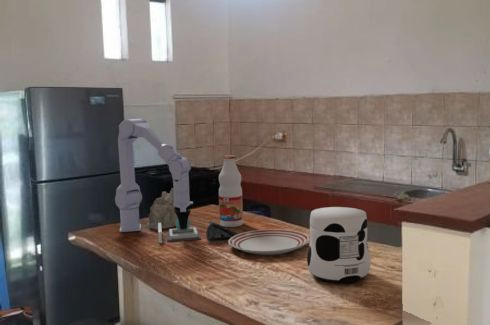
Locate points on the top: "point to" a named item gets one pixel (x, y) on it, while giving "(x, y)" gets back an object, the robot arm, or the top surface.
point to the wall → (159, 232)
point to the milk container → (338, 244)
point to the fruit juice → (230, 194)
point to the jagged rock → (163, 211)
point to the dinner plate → (269, 241)
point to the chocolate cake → (219, 233)
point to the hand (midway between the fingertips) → (183, 226)
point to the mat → (183, 234)
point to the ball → (179, 225)
